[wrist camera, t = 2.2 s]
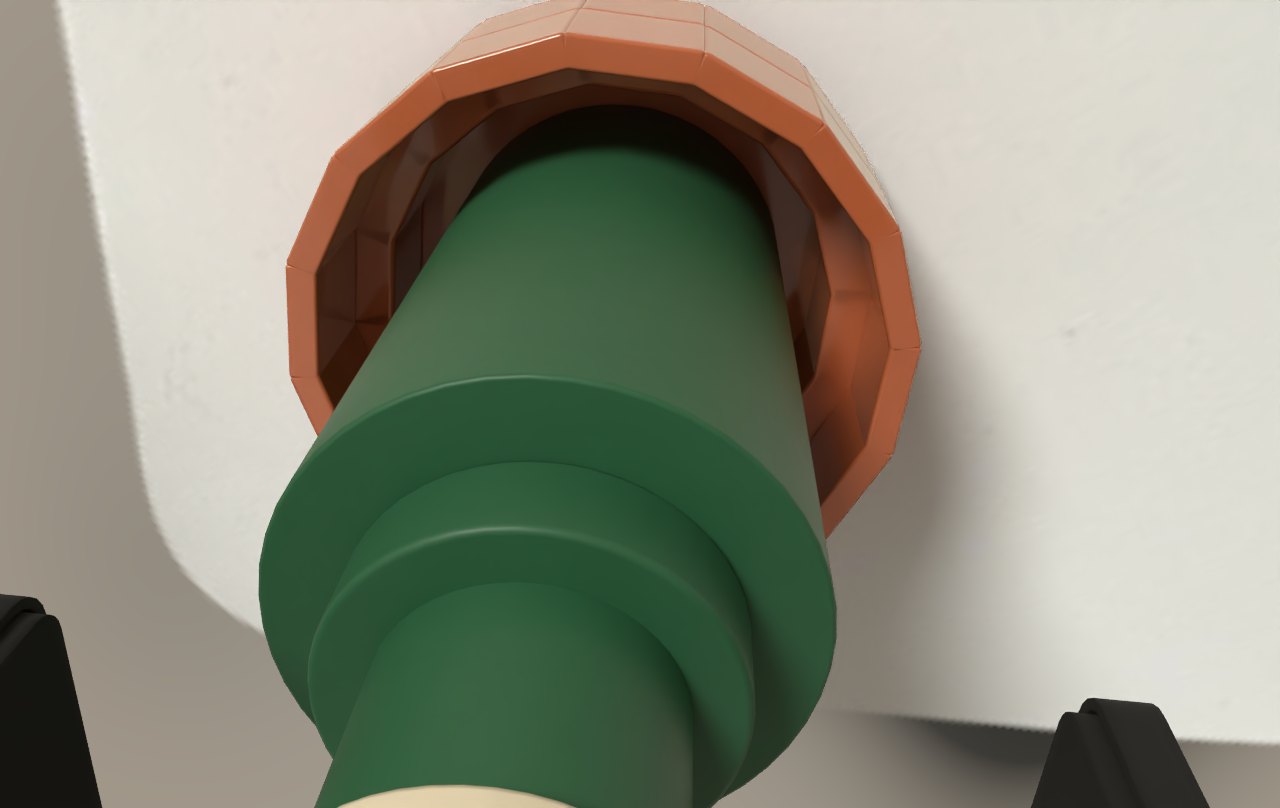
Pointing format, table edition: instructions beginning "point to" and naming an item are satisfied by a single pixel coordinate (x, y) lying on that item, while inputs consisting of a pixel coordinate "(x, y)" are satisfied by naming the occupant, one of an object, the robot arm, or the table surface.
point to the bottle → (565, 498)
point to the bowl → (636, 76)
